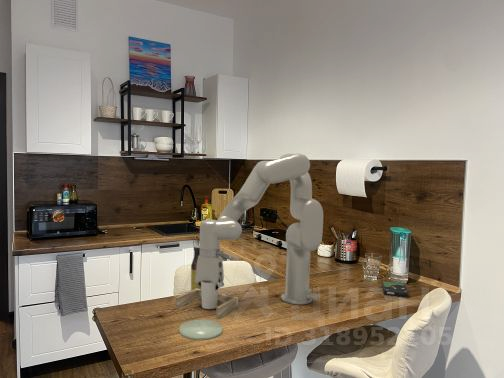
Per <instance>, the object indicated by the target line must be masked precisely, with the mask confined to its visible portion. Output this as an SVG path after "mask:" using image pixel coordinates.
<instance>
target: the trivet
mask: <svg viewBox="0 0 504 378" xmlns="http://www.w3.org/2000/svg"><path fill="white" fill-rule="evenodd" d="M223 329H224V328H223V325H221V323H219V322H218V321H214V320H210V319H194V320H189V321H186V322H184V323H182V324H181V325H180V326H179V334H180V335H181V336H182V337H184V338H187V339H190V340H196V341H197V340H199V341H205V340H211V339H215V338H217V337H219V336H220V335H221V334H222V333H223Z"/></svg>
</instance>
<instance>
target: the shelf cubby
mask: <svg viewBox="0 0 504 378" xmlns="http://www.w3.org/2000/svg"><path fill="white" fill-rule="evenodd" d="M195 299H200V300H199V301H201V300H202V297H201V289H197V288H196V289H194V290H192V291H191V290H189V291H188V292H185V293H183V294H182V293H181V294H180V295H178V296H175V300H174V301H175V304H174V305H175V307H174V308H175V309H180V308H182V307H185V306H186V305H188V304H190V302H191V303H193V302H194V301H193V300H195ZM192 301H193V302H192ZM195 301H196V300H195ZM187 303H188V304H187ZM185 304H186V305H185ZM218 304H219V305H218ZM215 309H216V310H215V319H216V320H220V319H222V318H224V317H225V316H227V315H228V314H230V313H232V312H233V311H235V310H237V309H239V297H238V296H232V295H228V294H223V293H219V292H218V300H217V307H216V308H215ZM226 314H227V315H226Z"/></svg>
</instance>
